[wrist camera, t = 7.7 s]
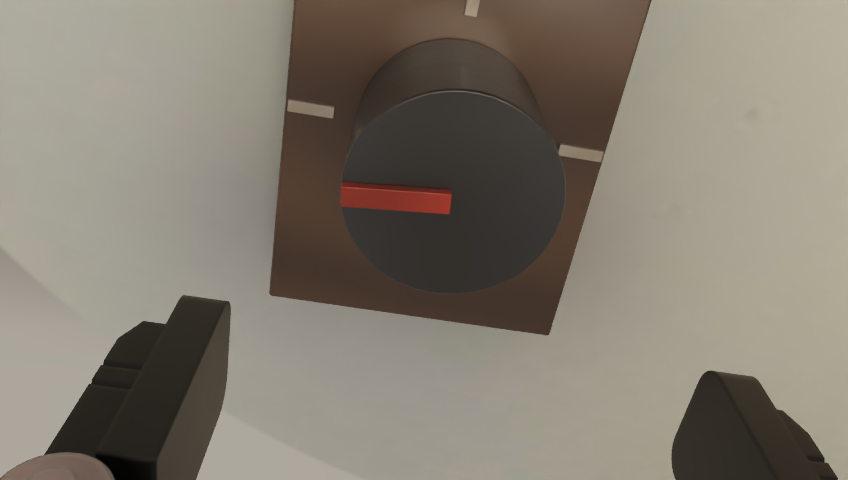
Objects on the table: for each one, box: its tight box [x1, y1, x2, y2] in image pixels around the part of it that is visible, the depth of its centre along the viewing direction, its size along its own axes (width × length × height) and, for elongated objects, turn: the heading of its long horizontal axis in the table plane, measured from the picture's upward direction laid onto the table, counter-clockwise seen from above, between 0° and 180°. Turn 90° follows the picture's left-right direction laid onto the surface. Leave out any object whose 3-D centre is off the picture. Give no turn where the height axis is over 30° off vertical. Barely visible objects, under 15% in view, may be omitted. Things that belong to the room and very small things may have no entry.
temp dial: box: [340, 39, 566, 294], centre depth 20 cm, size 6×6×5 cm
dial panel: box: [269, 0, 651, 335], centre depth 24 cm, size 14×10×3 cm
